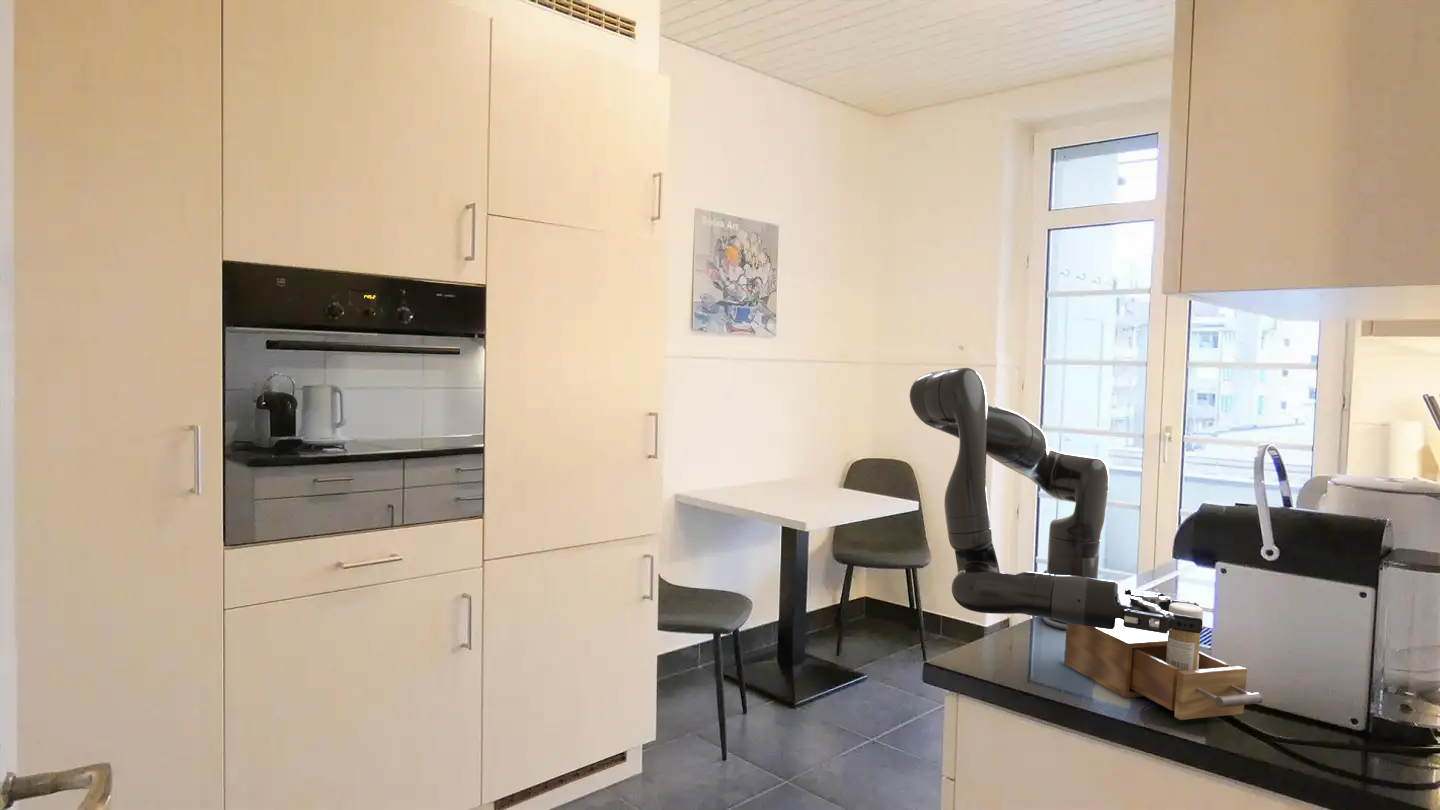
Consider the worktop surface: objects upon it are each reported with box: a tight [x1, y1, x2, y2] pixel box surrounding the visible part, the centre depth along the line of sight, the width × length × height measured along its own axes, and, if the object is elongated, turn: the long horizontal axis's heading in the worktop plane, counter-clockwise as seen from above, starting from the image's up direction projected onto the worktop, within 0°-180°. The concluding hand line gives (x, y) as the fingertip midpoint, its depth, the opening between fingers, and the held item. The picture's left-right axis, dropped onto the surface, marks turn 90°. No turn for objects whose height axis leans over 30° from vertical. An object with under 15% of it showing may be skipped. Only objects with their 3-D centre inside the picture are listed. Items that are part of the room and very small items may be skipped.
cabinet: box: [1063, 618, 1169, 699], centre depth 145 cm, size 15×13×9 cm
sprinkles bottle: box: [1166, 603, 1204, 671], centre depth 134 cm, size 5×5×13 cm
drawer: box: [1130, 646, 1264, 721], centre depth 132 cm, size 18×11×7 cm, turn 16°
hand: (1200, 618), depth 132 cm, fingers open, 8 cm apart
